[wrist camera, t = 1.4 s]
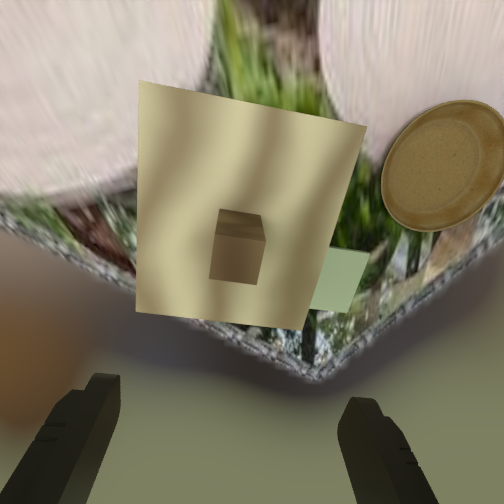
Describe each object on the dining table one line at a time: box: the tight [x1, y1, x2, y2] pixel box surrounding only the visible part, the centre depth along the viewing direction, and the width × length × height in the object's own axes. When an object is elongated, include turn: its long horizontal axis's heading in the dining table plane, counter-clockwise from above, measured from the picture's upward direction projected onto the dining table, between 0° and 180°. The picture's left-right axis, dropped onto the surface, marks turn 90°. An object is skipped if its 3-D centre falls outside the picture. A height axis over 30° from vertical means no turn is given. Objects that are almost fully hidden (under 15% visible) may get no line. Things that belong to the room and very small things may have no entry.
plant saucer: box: [381, 100, 504, 232], centre depth 35 cm, size 15×15×3 cm
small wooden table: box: [136, 80, 367, 331], centre depth 28 cm, size 16×19×18 cm
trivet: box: [309, 246, 370, 313], centre depth 42 cm, size 10×10×1 cm
